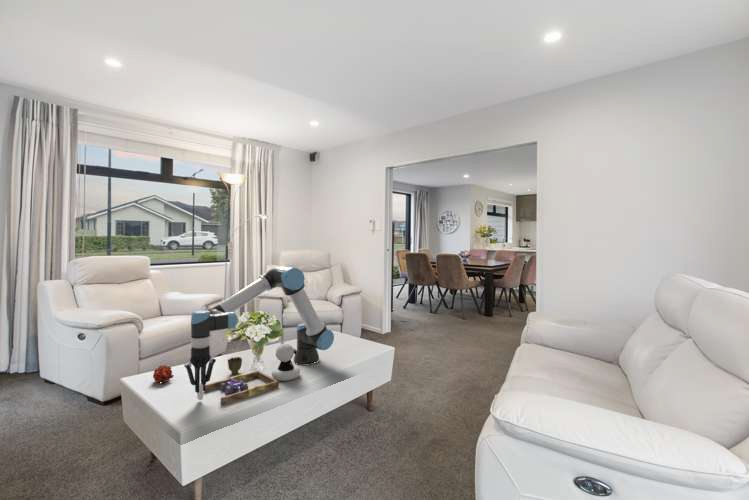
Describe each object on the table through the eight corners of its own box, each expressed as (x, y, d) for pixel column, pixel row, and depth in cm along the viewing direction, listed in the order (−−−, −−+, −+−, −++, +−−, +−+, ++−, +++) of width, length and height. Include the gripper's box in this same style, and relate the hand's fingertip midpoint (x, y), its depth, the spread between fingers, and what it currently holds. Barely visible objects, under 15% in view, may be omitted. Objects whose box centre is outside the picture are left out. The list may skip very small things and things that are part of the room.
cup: (225, 373, 191) (225, 358, 191) (238, 370, 196) (238, 355, 196) (230, 376, 186) (231, 361, 186) (244, 373, 191) (244, 358, 191)
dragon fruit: (163, 380, 184) (165, 391, 175) (147, 373, 180) (149, 384, 170) (174, 366, 186) (177, 376, 177) (159, 359, 182) (161, 369, 172)
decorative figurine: (305, 377, 186) (305, 340, 186) (280, 384, 176) (280, 345, 176) (291, 370, 197) (291, 334, 197) (266, 376, 187) (267, 339, 187)
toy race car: (236, 384, 177) (236, 371, 177) (248, 394, 166) (248, 380, 166) (216, 389, 170) (216, 376, 170) (227, 399, 159) (228, 385, 159)
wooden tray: (258, 376, 187) (258, 369, 187) (278, 387, 173) (278, 380, 173) (203, 391, 167) (203, 384, 167) (221, 405, 153) (221, 397, 153)
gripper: (212, 341, 163) (211, 391, 163) (181, 347, 154) (181, 400, 154) (218, 344, 158) (218, 396, 158) (187, 350, 149) (187, 406, 149)
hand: (200, 398), depth 156 cm, fingers closed
